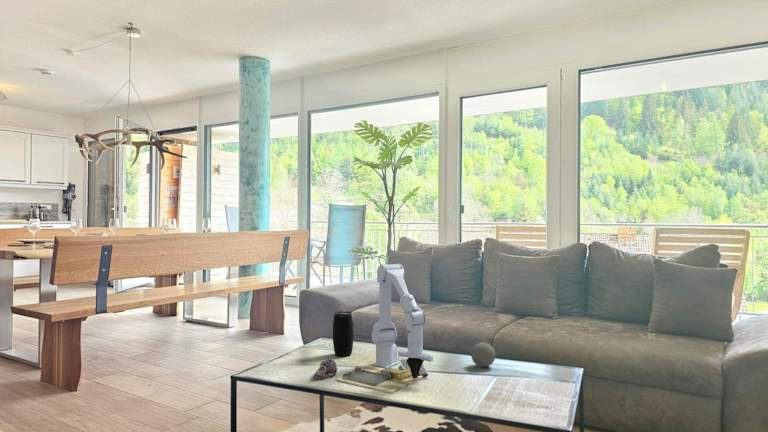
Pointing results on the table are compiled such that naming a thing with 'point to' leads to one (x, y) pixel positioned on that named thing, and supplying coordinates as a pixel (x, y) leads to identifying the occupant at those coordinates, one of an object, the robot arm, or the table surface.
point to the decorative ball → (483, 354)
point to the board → (386, 386)
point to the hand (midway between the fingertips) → (415, 377)
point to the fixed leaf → (367, 376)
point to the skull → (326, 369)
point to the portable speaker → (343, 333)
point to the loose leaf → (398, 373)
